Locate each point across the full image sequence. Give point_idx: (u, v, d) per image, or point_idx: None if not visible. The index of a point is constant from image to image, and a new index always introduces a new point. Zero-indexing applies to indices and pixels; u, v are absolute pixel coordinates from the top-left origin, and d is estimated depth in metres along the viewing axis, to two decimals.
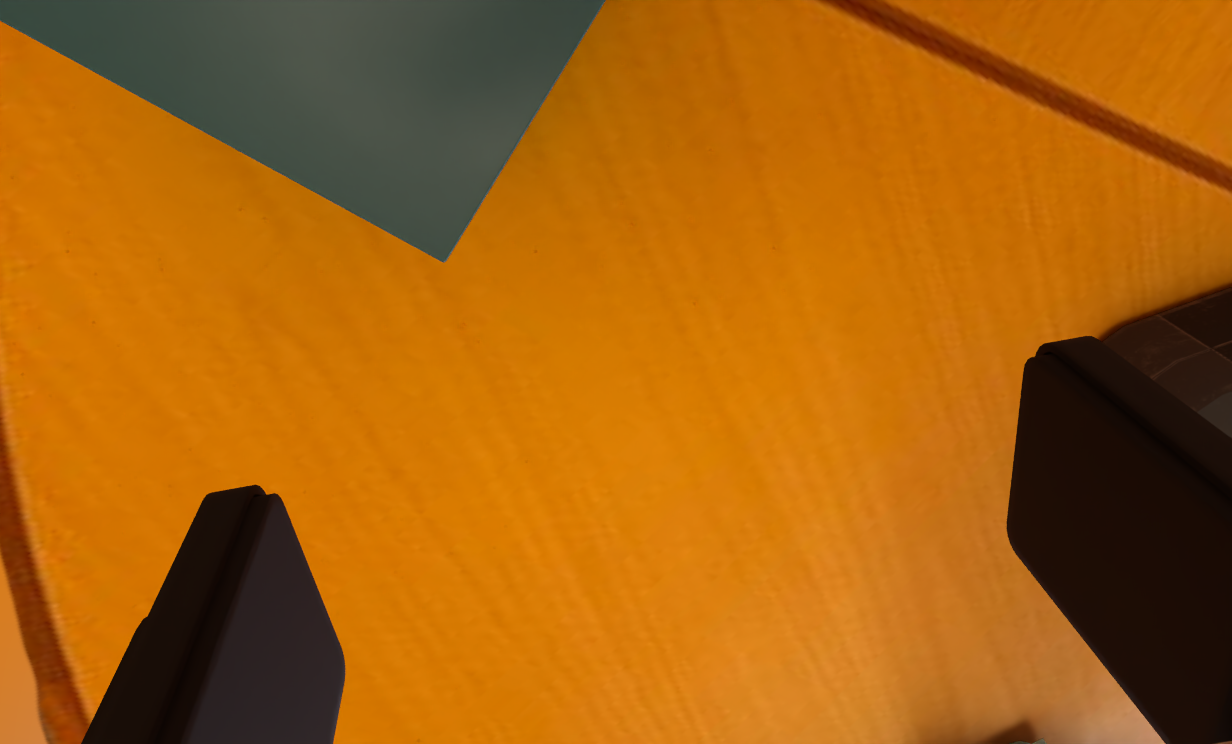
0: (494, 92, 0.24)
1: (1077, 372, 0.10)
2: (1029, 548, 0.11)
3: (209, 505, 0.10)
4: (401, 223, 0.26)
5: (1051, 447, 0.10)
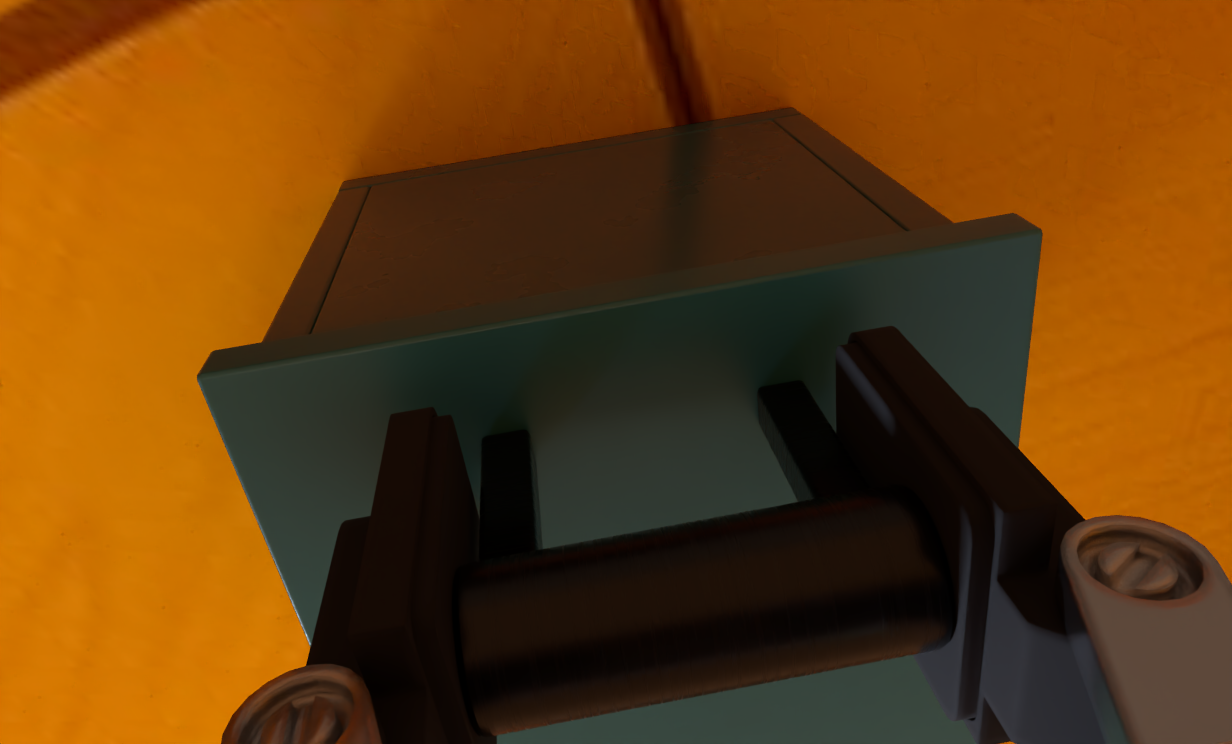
0: None
1: (870, 358, 0.11)
2: None
3: (397, 422, 0.11)
4: None
5: (855, 428, 0.11)
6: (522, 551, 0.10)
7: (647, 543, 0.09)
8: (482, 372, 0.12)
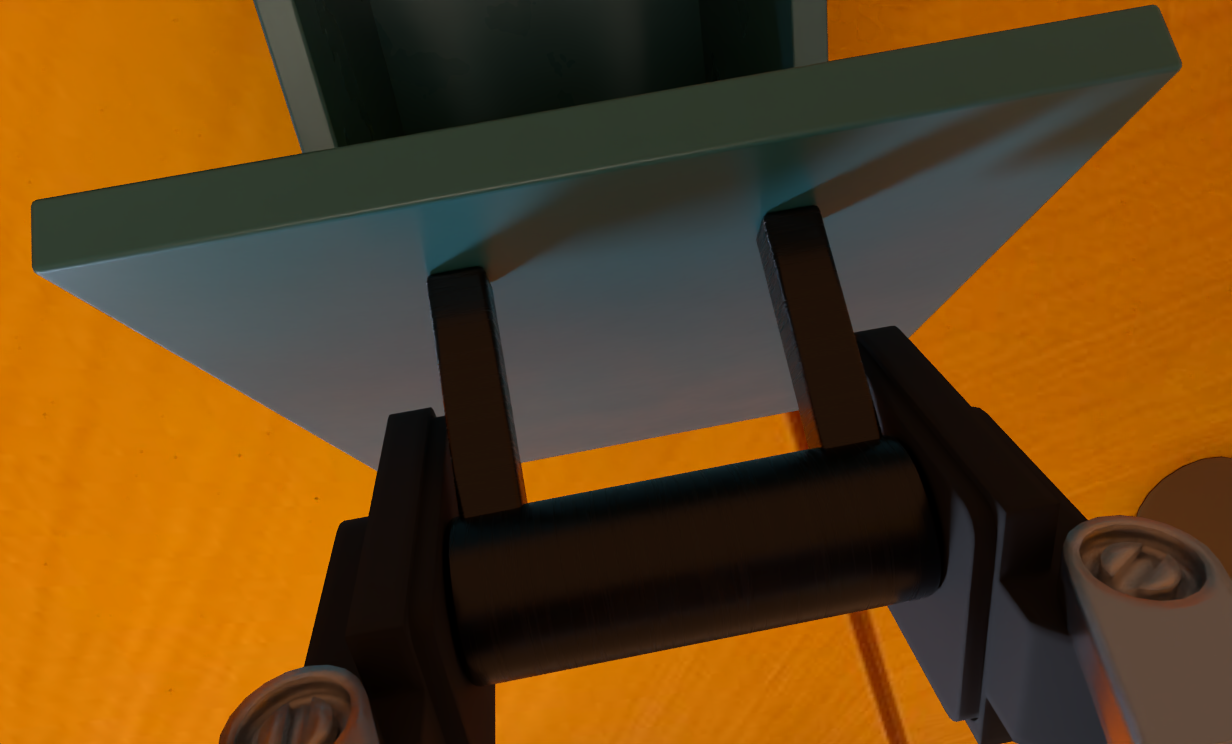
0: (598, 438, 0.21)
1: (872, 358, 0.11)
2: None
3: (396, 423, 0.11)
4: None
5: None
6: (504, 491, 0.09)
7: (649, 545, 0.09)
8: (425, 233, 0.09)
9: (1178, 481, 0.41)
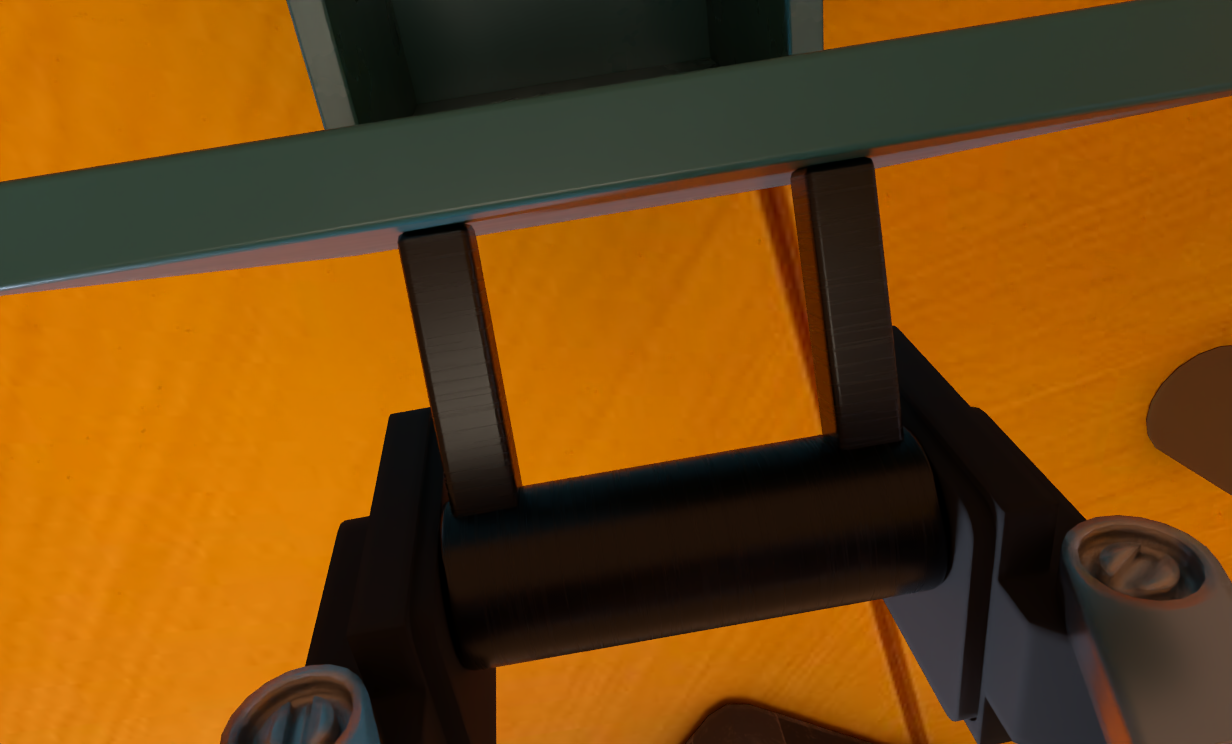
0: None
1: None
2: None
3: (396, 423, 0.11)
4: (357, 254, 0.19)
5: None
6: (499, 490, 0.09)
7: (654, 569, 0.09)
8: (399, 228, 0.07)
9: (1193, 369, 0.39)
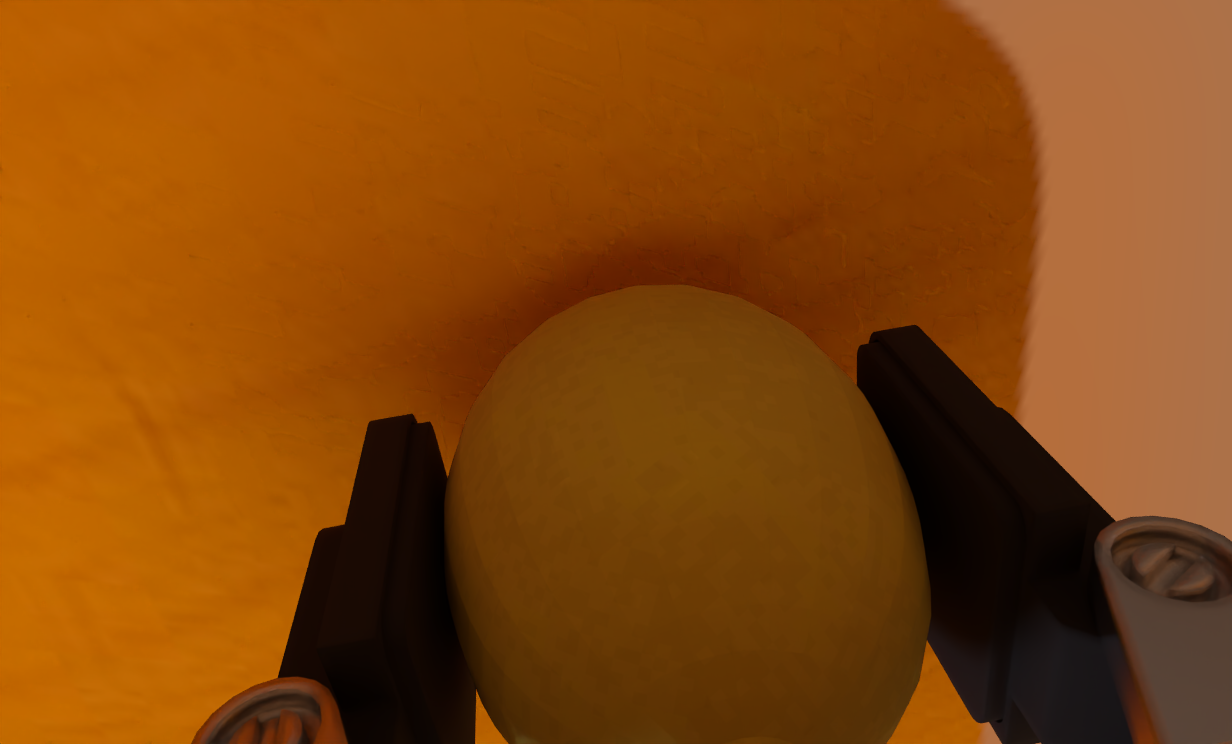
0: None
1: (894, 357, 0.11)
2: None
3: (375, 430, 0.11)
4: None
5: None
6: None
7: None
8: None
9: None
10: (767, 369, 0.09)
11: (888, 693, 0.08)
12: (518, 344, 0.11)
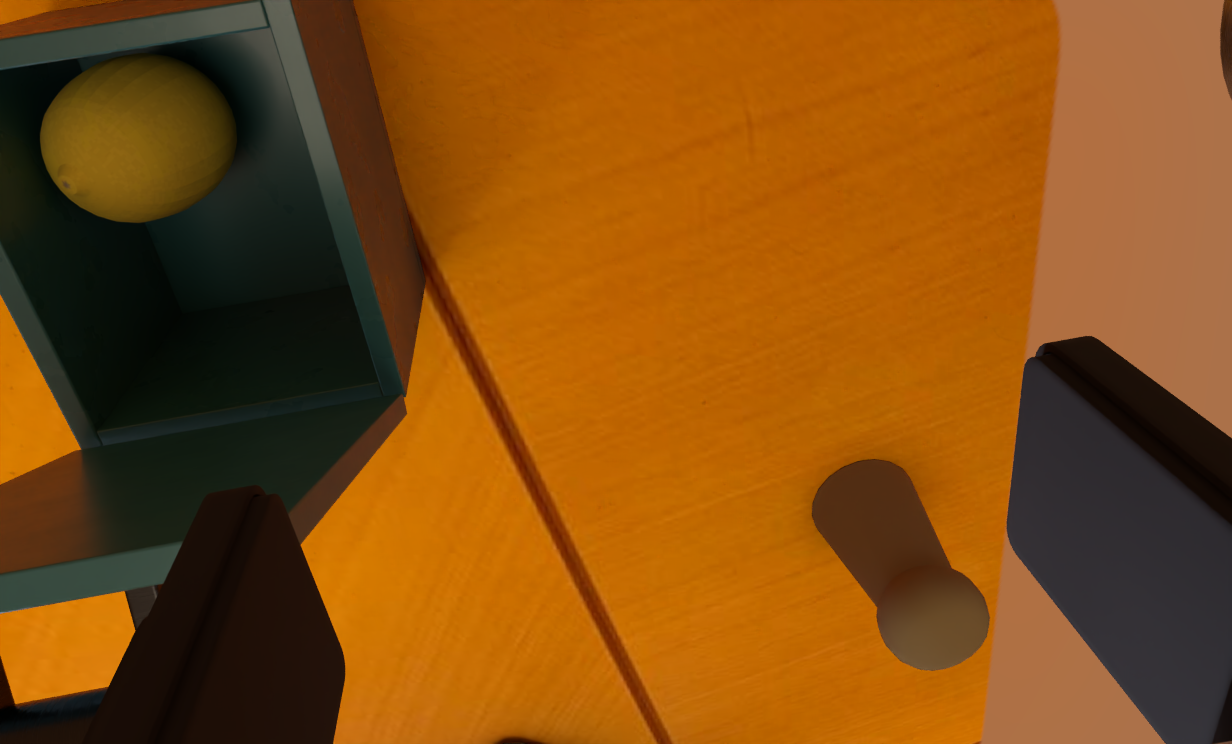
0: None
1: (1077, 372, 0.10)
2: (1029, 547, 0.11)
3: (209, 505, 0.10)
4: None
5: (1051, 447, 0.10)
6: None
7: None
8: None
9: (837, 479, 0.49)
10: (124, 76, 0.30)
11: (117, 168, 0.29)
12: None
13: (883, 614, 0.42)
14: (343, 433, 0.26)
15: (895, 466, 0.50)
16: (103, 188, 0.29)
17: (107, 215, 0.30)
